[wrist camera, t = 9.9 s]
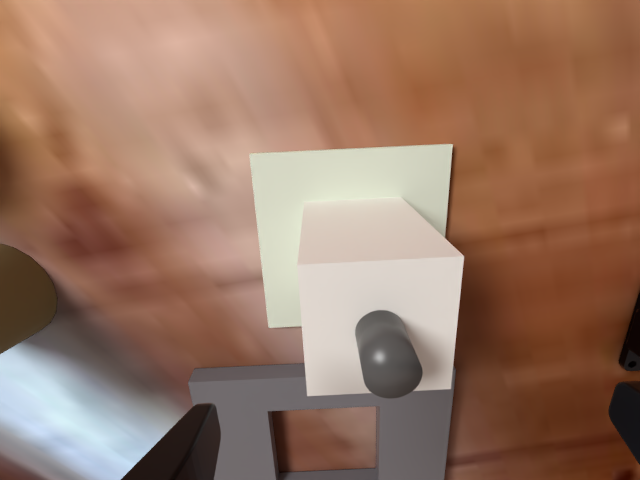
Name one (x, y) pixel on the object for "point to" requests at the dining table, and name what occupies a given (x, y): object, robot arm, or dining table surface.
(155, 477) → the robot arm
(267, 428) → the gray rectangular frame
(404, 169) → the mat
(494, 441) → the dining table surface
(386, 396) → the plug
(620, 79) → the dining table surface
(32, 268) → the olive green tapered block
